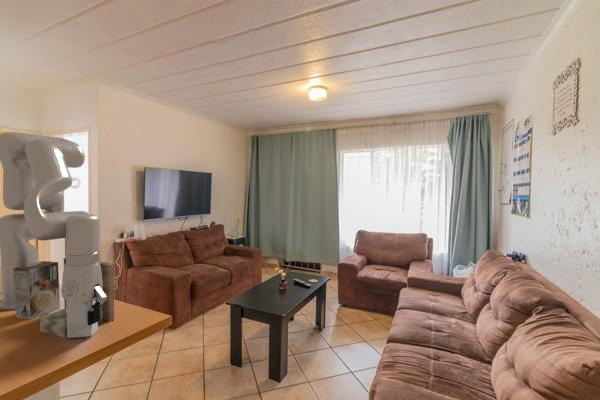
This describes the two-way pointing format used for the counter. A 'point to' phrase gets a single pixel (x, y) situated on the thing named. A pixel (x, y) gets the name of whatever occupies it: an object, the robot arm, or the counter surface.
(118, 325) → the counter surface
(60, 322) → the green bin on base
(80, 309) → the skincare box
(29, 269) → the coffee box
